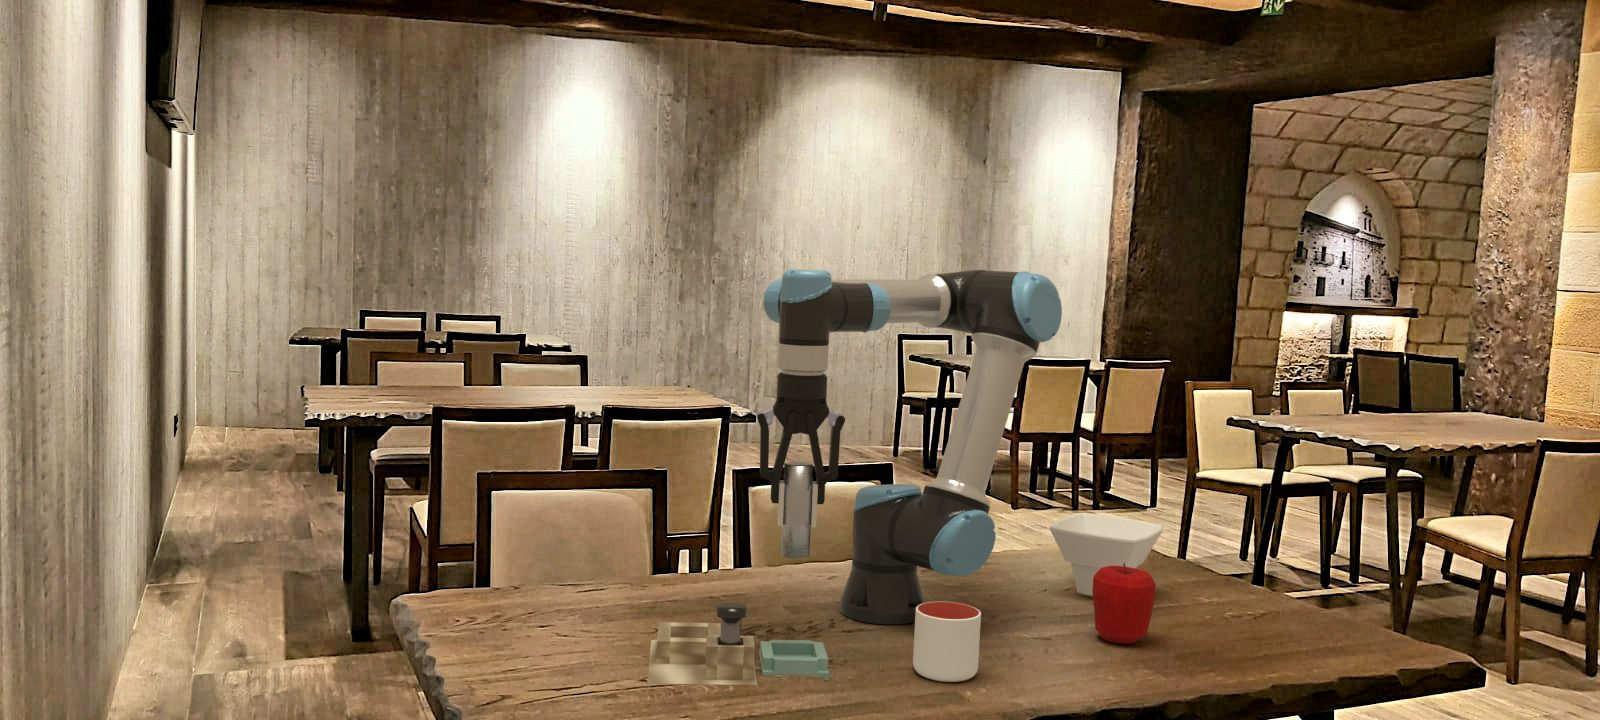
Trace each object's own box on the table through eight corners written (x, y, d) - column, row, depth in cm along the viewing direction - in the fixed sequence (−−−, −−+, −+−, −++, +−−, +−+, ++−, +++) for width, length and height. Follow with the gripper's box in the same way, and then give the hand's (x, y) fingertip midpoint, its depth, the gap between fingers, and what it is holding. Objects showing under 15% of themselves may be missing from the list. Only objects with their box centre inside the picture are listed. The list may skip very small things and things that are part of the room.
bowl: (1165, 594, 250) (1170, 524, 249) (1133, 616, 234) (1139, 541, 233) (1073, 578, 260) (1078, 510, 259) (1037, 597, 244) (1042, 525, 243)
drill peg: (808, 551, 198) (812, 462, 196) (810, 558, 193) (814, 467, 192) (780, 551, 197) (783, 461, 196) (781, 558, 193) (785, 466, 192)
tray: (821, 658, 202) (822, 640, 202) (828, 680, 192) (829, 660, 192) (758, 657, 201) (759, 639, 201) (762, 679, 191) (763, 660, 191)
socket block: (750, 646, 207) (752, 611, 207) (757, 690, 187) (758, 651, 186) (651, 644, 206) (652, 609, 205) (646, 688, 185) (648, 649, 185)
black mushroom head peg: (743, 662, 193) (745, 603, 192) (744, 672, 189) (747, 611, 188) (714, 662, 193) (716, 602, 192) (714, 672, 189) (717, 611, 188)
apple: (1102, 650, 213) (1107, 570, 212) (1079, 631, 223) (1084, 555, 222) (1162, 650, 215) (1168, 570, 213) (1137, 631, 225) (1142, 555, 223)
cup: (907, 662, 202) (910, 600, 202) (969, 663, 203) (973, 601, 202) (918, 684, 193) (922, 619, 192) (983, 685, 193) (987, 620, 193)
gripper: (857, 371, 197) (850, 520, 199) (744, 367, 196) (738, 518, 198) (863, 376, 190) (856, 531, 192) (745, 373, 189) (739, 528, 191)
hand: (796, 524), depth 195 cm, fingers closed on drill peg, 4 cm apart
